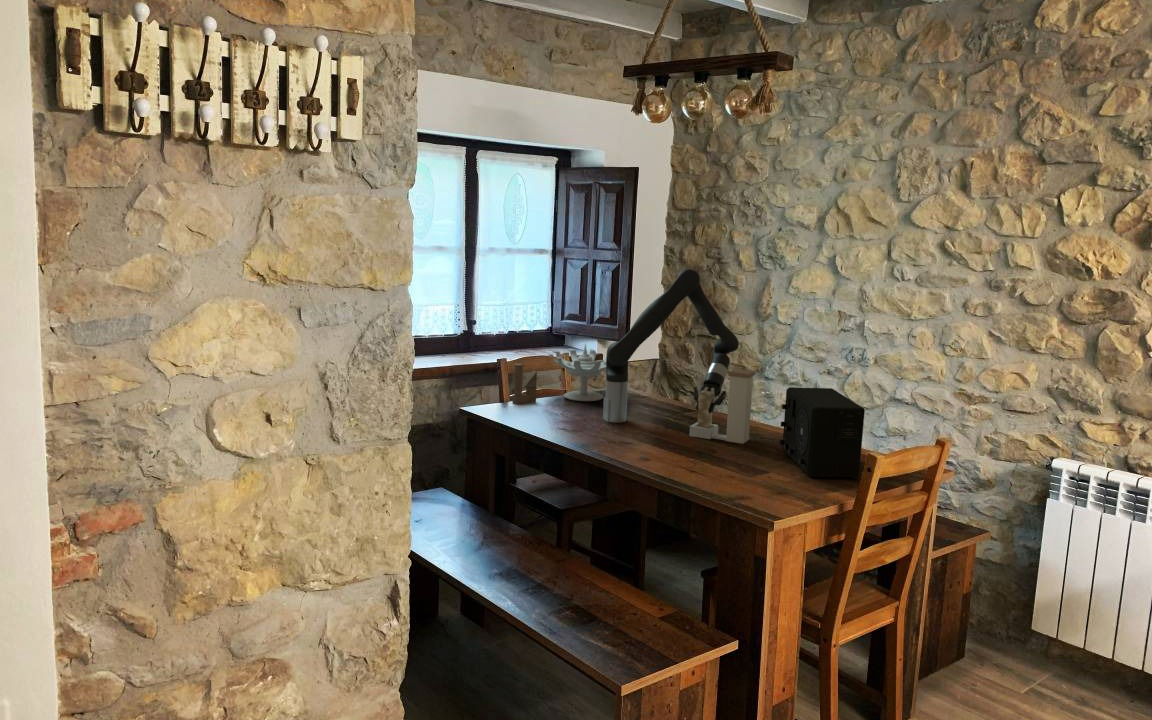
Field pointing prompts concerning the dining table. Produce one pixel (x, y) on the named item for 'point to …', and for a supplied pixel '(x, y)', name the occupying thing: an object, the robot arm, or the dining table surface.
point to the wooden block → (524, 386)
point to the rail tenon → (704, 409)
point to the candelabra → (582, 372)
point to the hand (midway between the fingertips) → (703, 411)
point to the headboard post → (733, 410)
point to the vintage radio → (823, 432)
